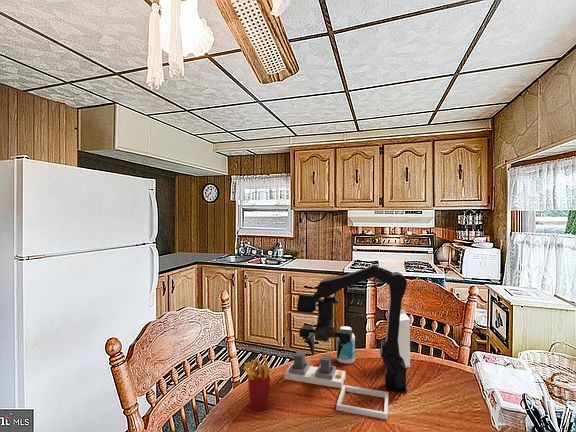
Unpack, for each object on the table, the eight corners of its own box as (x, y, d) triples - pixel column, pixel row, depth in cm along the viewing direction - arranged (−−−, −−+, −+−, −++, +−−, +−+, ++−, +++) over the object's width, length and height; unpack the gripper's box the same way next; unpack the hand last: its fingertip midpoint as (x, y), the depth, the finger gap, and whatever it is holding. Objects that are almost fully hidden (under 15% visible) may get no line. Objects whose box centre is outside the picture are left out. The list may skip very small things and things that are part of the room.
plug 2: (331, 371, 121) (331, 355, 121) (328, 377, 117) (328, 360, 117) (323, 370, 122) (323, 354, 122) (320, 376, 118) (320, 359, 118)
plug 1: (305, 367, 125) (305, 352, 125) (301, 373, 120) (301, 356, 120) (297, 366, 125) (297, 350, 126) (294, 371, 121) (294, 355, 121)
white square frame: (388, 396, 108) (388, 392, 108) (387, 419, 96) (387, 414, 96) (342, 389, 113) (342, 384, 113) (336, 410, 100) (336, 405, 100)
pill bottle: (356, 364, 132) (356, 331, 132) (337, 364, 132) (338, 330, 132) (353, 357, 139) (353, 325, 140) (335, 356, 140) (335, 324, 140)
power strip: (345, 376, 122) (345, 367, 122) (341, 388, 113) (341, 378, 113) (291, 368, 129) (291, 359, 129) (284, 378, 120) (284, 369, 120)
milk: (410, 367, 130) (410, 311, 130) (396, 369, 128) (397, 312, 128) (400, 360, 136) (401, 307, 136) (388, 362, 134) (388, 308, 134)
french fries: (270, 411, 99) (271, 361, 100) (243, 414, 98) (243, 364, 98) (266, 396, 108) (266, 350, 108) (241, 399, 106) (241, 352, 106)
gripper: (294, 317, 115) (294, 362, 115) (348, 323, 109) (348, 370, 109) (303, 309, 126) (303, 350, 126) (352, 314, 120) (352, 357, 120)
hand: (325, 356), depth 120 cm, fingers open, 9 cm apart
